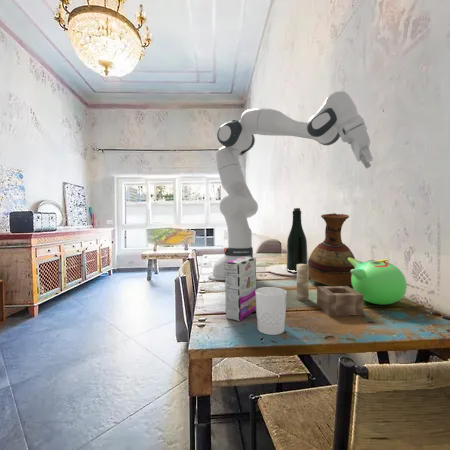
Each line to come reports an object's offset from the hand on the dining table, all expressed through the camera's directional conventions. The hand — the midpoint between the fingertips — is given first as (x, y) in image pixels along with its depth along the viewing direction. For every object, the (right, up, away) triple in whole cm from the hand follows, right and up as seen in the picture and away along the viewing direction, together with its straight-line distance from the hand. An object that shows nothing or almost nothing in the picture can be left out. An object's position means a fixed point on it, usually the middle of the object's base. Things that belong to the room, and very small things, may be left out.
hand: (369, 164), depth 97 cm
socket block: (-17, -48, -14) cm, 52 cm away
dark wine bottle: (-14, -46, +44) cm, 65 cm away
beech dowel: (-25, -48, -3) cm, 54 cm away
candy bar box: (-47, -48, -16) cm, 69 cm away
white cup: (-40, -49, -27) cm, 69 cm away
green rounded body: (-2, -48, -7) cm, 48 cm away
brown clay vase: (-6, -47, +18) cm, 51 cm away
